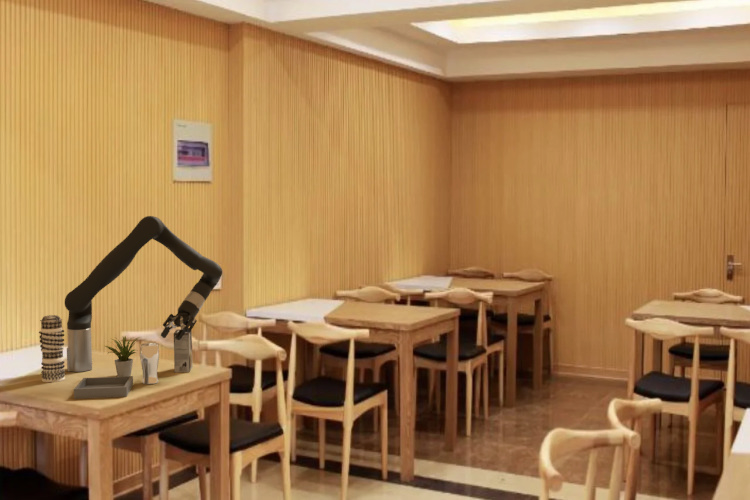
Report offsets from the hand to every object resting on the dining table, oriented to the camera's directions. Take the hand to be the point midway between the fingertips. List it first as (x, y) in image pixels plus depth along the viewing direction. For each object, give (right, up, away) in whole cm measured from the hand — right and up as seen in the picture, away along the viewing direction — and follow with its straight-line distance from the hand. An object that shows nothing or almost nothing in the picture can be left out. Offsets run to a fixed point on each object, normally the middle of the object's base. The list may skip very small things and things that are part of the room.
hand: (169, 337), depth 332 cm
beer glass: (-6, -17, -7) cm, 19 cm away
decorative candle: (-45, -16, -1) cm, 48 cm away
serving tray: (-19, -18, -21) cm, 33 cm away
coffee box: (+2, -15, +15) cm, 22 cm away
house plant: (-19, -16, +7) cm, 26 cm away
